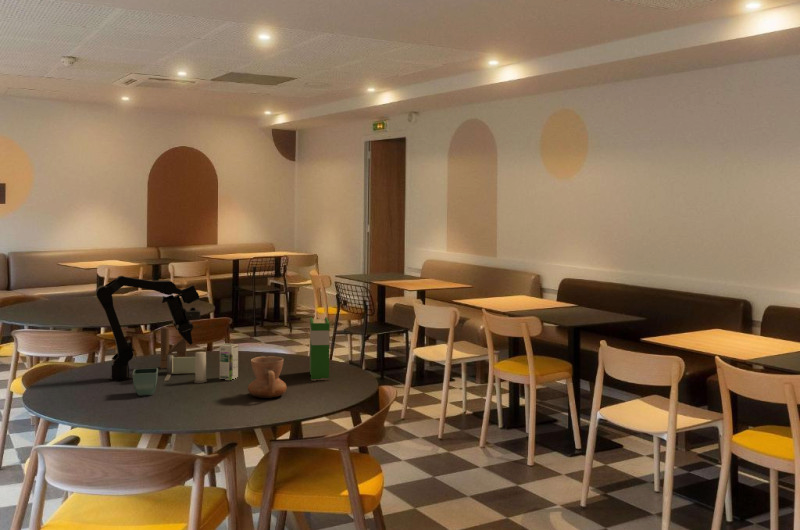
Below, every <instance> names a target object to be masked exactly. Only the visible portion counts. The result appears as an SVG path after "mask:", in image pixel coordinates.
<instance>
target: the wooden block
mask: <svg viewBox="0 0 800 530" xmlns="http://www.w3.org/2000/svg"><path fill="white" fill-rule="evenodd" d="M170 353H176V357H187V341H186V340H185V339H184V338H183V337H182V336H181V338H180V339H179V340H178V341H177V342H175V344H174V345H173V346H172V347H171V348H170V327H169V326H168V327H167V326H163V327H160V360H159V363H160V364H159V365H160V366H159V367H160V369H161V370H163V369H162V368H166V369H167V355H170Z"/></svg>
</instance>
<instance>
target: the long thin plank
mask: <svg viewBox="0 0 800 530" xmlns="http://www.w3.org/2000/svg"><path fill="white" fill-rule="evenodd" d="M173 357H174V355H172V354H169V355H167V368H166V371H167V372H166V376H165V378H164V380H163V382H169V380H170V379H171V376H172V374H173Z"/></svg>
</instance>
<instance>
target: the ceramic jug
mask: <svg viewBox="0 0 800 530" xmlns="http://www.w3.org/2000/svg"><path fill="white" fill-rule="evenodd" d="M250 363H251V368H252V371H253V373H254V376H255V377H256V378H255V379H254V380H253V381H251V382H250V383H249V384H248V385H247V391H248V393H249V394H250V395H251V396H252V397H253V396H254V397H256V398H262V399H270V398H271V399H272V398H277V397H280V396H282V395H284V394H285V393H286V391H287V383H286V382H285V381H283V380H282V379H281V378H280V376H281V375H280V374H281V372H282V369H283V366H284V358H283V357H281V356H280V357H279V356H272V355H269V356H265V355H263V356H256V357H253V358H251V360H250Z"/></svg>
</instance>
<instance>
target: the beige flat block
mask: <svg viewBox="0 0 800 530" xmlns="http://www.w3.org/2000/svg"><path fill="white" fill-rule="evenodd" d="M172 374H173V375H174V374H195V356H186V357H177V356H176V357H175V356H173V373H172Z"/></svg>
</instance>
